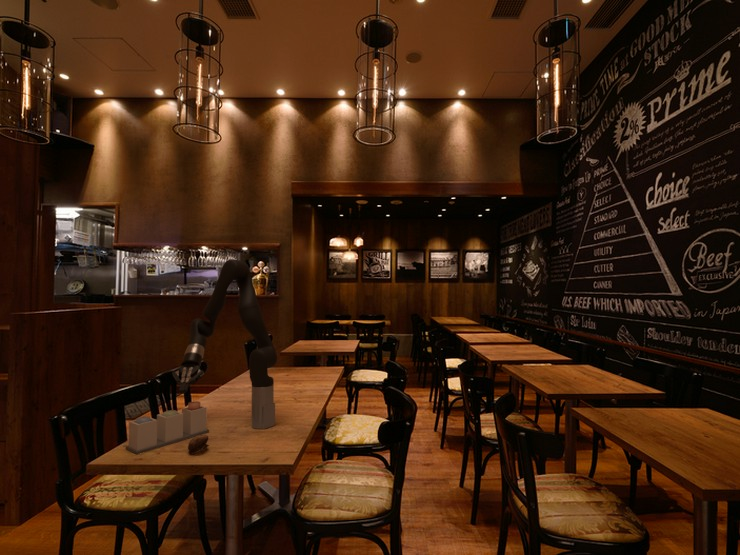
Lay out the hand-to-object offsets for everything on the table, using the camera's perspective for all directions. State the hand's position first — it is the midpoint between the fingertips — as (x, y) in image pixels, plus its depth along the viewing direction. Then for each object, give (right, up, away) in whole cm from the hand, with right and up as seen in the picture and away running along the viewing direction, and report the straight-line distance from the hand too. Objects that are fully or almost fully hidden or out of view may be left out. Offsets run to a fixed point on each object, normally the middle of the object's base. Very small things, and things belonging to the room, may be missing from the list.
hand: (182, 392), depth 158 cm
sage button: (-3, -10, -3) cm, 11 cm away
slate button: (-9, -9, -11) cm, 17 cm away
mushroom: (+13, -17, -15) cm, 26 cm away
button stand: (-3, -18, -4) cm, 18 cm away
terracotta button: (+3, -9, +5) cm, 10 cm away
